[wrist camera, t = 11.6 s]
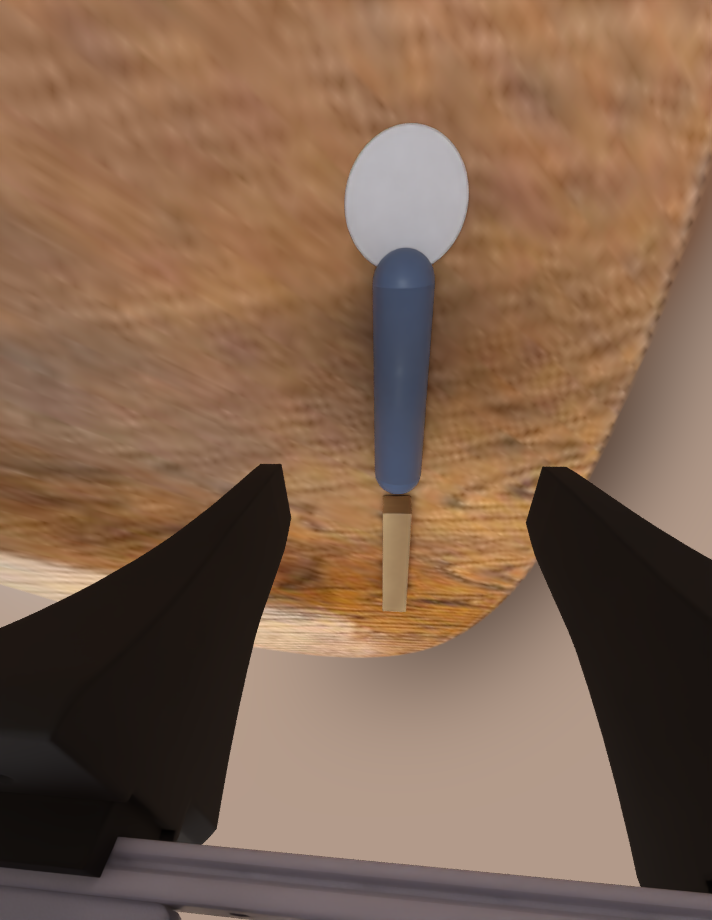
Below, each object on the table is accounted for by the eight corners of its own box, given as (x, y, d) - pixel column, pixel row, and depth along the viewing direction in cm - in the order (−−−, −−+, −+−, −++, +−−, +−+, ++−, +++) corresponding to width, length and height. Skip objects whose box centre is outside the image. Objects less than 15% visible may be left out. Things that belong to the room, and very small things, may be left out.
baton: (382, 591, 27) (382, 611, 26) (383, 495, 22) (382, 513, 21) (405, 592, 27) (405, 612, 25) (410, 495, 22) (411, 514, 20)
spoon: (436, 476, 21) (441, 504, 19) (358, 475, 21) (355, 503, 19) (472, 124, 13) (487, 107, 11) (343, 132, 13) (335, 118, 11)
